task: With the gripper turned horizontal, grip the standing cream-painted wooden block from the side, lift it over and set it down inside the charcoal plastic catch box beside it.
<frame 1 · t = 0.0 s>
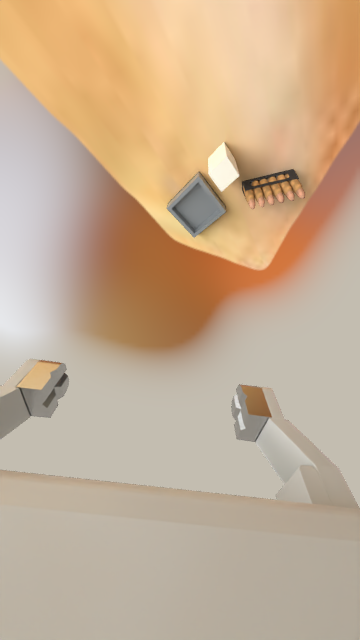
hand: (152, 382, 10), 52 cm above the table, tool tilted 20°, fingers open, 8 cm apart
cream block: (221, 158, 46), on the table
catch box: (196, 204, 54), on the table
ammunition clip: (266, 179, 48), on the table
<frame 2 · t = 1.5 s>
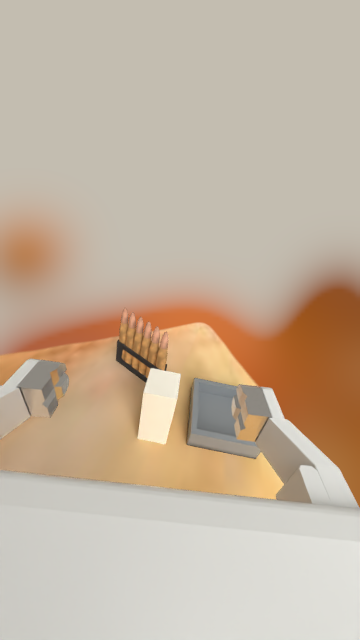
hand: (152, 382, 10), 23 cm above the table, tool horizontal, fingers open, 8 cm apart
cream block: (154, 428, 32), on the table
catch box: (219, 419, 35), on the table
ammunition clip: (139, 373, 41), on the table
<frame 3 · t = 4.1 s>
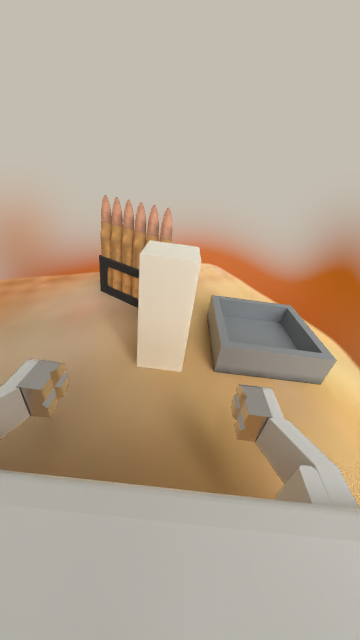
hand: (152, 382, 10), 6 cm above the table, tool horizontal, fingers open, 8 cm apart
cream block: (161, 354, 21), on the table
catch box: (254, 344, 24), on the table
ammunition clip: (133, 302, 29), on the table
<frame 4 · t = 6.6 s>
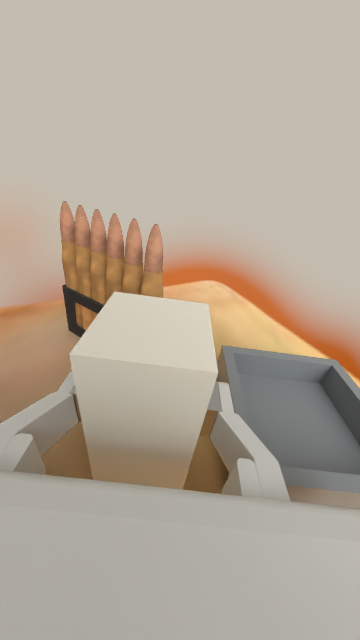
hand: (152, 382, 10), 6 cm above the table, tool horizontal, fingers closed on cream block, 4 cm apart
cream block: (144, 465, 13), on the table, touching gripper
catch box: (288, 428, 16), on the table
ammunition clip: (112, 348, 21), on the table
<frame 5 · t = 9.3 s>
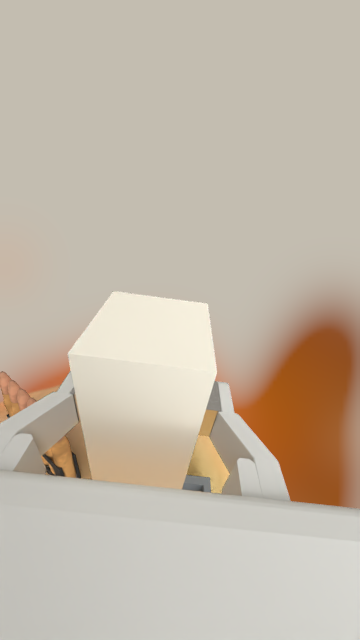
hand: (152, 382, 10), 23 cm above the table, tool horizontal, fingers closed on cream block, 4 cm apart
cream block: (143, 464, 13), point 17 cm above the table, touching gripper
catch box: (159, 541, 22), on the table
ammunition clip: (47, 457, 27), on the table
when the fingers open (8 cm above the table, at t = 12.5 s): cream block drops 1 cm, resting on catch box.
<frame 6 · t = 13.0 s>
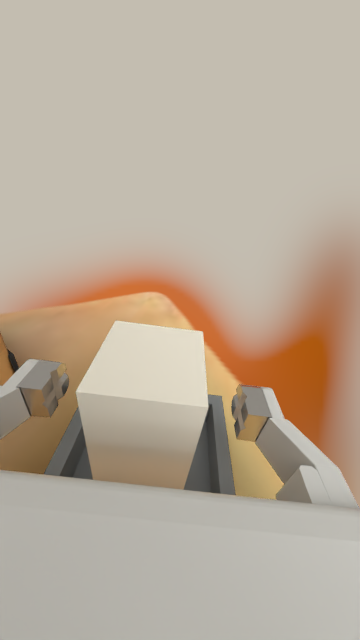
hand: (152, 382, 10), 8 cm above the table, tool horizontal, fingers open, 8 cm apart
cream block: (143, 476, 13), point 1 cm above the table, touching catch box
catch box: (143, 481, 14), on the table
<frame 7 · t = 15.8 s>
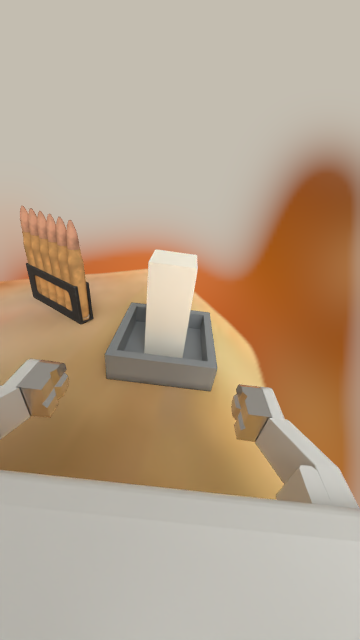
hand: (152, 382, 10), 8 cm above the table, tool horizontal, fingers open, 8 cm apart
cream block: (165, 345, 25), point 1 cm above the table, touching catch box
catch box: (164, 351, 25), on the table
ammunition clip: (62, 308, 30), on the table
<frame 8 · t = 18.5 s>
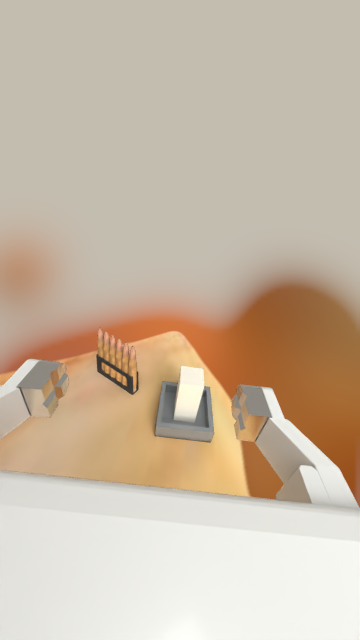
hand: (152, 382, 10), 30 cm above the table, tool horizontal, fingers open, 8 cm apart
cream block: (184, 411, 42), point 1 cm above the table, touching catch box
catch box: (183, 414, 43), on the table
ammunition clip: (117, 380, 48), on the table
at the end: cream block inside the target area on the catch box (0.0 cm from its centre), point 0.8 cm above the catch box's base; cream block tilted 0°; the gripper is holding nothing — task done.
